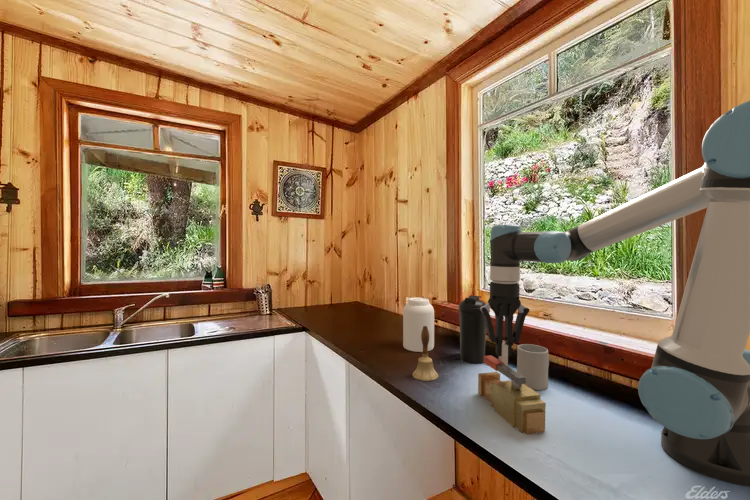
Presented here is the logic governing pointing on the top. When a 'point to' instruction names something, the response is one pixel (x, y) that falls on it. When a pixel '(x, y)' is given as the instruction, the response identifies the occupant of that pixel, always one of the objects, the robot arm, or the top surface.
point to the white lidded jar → (417, 323)
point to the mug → (533, 365)
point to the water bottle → (472, 330)
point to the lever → (506, 372)
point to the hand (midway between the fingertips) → (503, 367)
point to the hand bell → (425, 361)
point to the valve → (513, 403)
